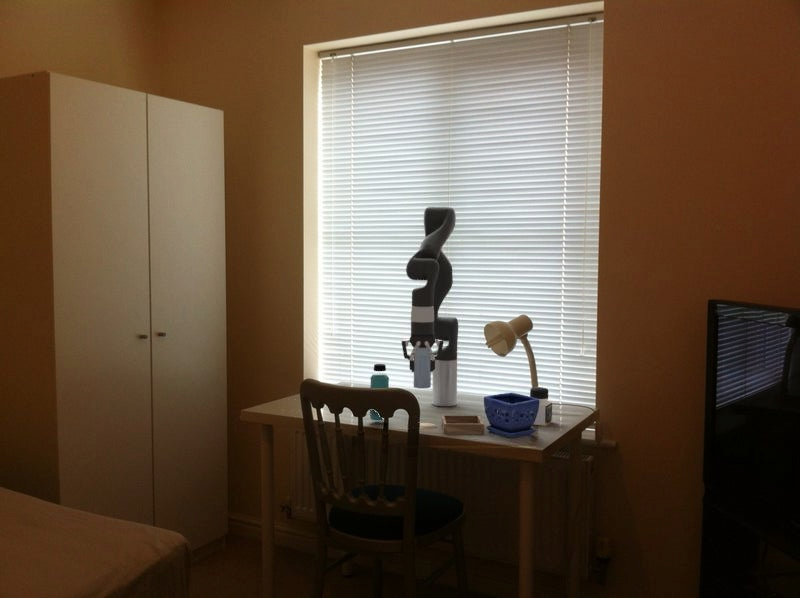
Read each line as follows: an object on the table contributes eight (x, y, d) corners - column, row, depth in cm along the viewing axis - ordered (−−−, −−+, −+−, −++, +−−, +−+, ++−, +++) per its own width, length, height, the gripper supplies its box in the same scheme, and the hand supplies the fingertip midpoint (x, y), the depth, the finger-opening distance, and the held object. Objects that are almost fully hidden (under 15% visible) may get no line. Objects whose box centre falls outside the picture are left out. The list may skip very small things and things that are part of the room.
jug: (430, 385, 240) (430, 346, 239) (431, 389, 233) (431, 349, 232) (413, 385, 240) (413, 346, 239) (413, 389, 233) (414, 349, 232)
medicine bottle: (545, 426, 242) (546, 390, 241) (525, 423, 245) (525, 388, 244) (552, 421, 248) (552, 387, 247) (532, 419, 251) (532, 385, 250)
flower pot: (541, 435, 229) (541, 398, 228) (510, 442, 221) (511, 403, 221) (511, 427, 240) (512, 391, 239) (481, 433, 232) (481, 396, 231)
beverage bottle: (378, 419, 250) (378, 361, 248) (393, 422, 245) (393, 364, 244) (365, 423, 245) (365, 364, 243) (380, 426, 240) (380, 366, 239)
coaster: (406, 424, 243) (406, 422, 243) (436, 424, 243) (436, 422, 243) (406, 431, 233) (406, 430, 233) (437, 431, 233) (437, 430, 233)
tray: (441, 425, 241) (441, 415, 241) (479, 425, 242) (479, 415, 241) (444, 435, 229) (444, 424, 229) (483, 435, 229) (484, 424, 229)
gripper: (443, 319, 240) (443, 369, 241) (400, 318, 240) (400, 369, 241) (445, 321, 232) (444, 373, 233) (400, 321, 232) (400, 373, 233)
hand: (422, 371), depth 237 cm, fingers closed on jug, 5 cm apart
